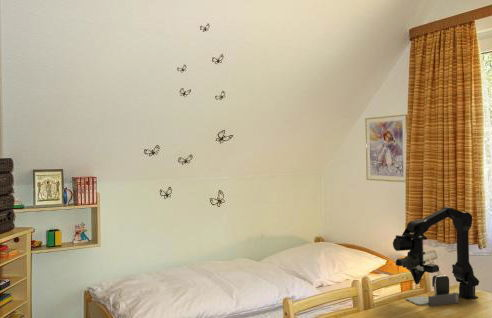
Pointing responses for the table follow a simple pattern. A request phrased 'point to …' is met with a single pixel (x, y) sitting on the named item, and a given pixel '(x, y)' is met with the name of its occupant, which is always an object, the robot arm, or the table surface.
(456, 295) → the grey rectangular bar
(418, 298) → the mat
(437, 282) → the battery
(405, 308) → the table surface
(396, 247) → the robot arm
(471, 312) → the table surface
